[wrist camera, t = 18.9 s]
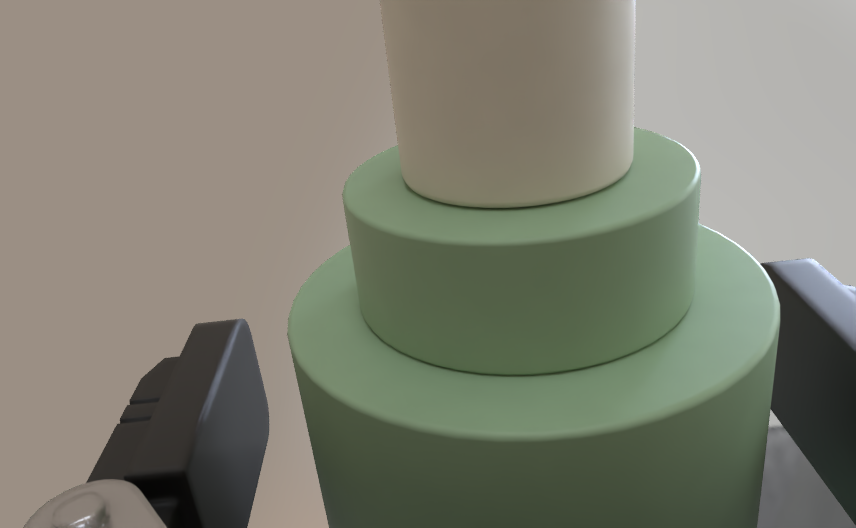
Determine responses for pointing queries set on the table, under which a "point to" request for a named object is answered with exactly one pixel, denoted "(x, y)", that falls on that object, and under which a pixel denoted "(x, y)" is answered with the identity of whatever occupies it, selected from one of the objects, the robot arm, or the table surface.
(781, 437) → the table surface
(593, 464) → the bottle
